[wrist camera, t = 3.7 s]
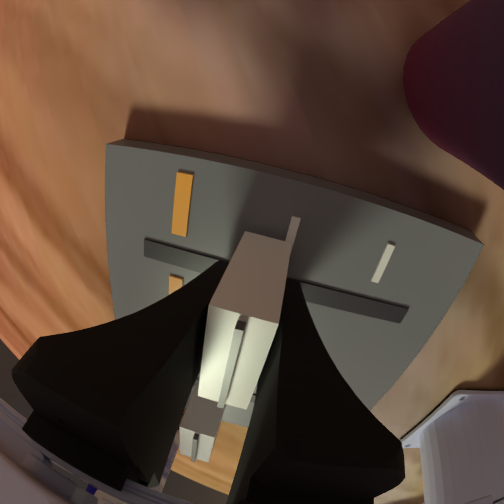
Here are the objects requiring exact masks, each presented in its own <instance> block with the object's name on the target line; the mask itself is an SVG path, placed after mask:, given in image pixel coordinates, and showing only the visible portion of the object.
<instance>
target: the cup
mask: <svg viewBox="0 0 504 504" xmlns="http://www.w3.org/2000/svg"><path fill="white" fill-rule="evenodd" d="M403 81H404V89H405V95H406V98H407V102H408V106H409V108H410V110H411V112H412V115H413V117H414V119H415V121H416V122H417V124H418V125H419V127H420V128H421V130H422V131H423V132H424V133H425V135H426V136H427V137H428V138H429V139H430V140H431V141H432V142H433V143H435V144H436V145H437V146H438V147H440V148H441V149H443V150H445V151H446V152H448V153H450V154H451V155H453V156H455V157H456V158H458V159H460V160H461V161H463V162H464V163H466V164H467V165H469V166H470V167H472V168H474V169H475V170H477V171H478V172H480V173H481V174H482V175H484V176H485V177H487V178H488V179H490V180H491V181H492V182H494V183H495V184H497V185H498V186H499V187H501V188H502V189H503V190H504V0H471V1H469V2H468V3H466V4H465V5H464V6H462V7H461V8H459V9H458V10H457V11H455V12H454V13H452V14H451V15H450V16H448V17H447V18H446V19H444V20H443V21H442V22H440V23H439V24H437V25H436V26H435V27H434V28H432V29H431V30H430V31H428V32H427V33H426V34H424V35H423V36H422V37H420V38H419V39H418V40H417V41H416V43H415V44H414V45H413V46H412V48H411V49H410V51H409V53H408V55H407V58H406V62H405V66H404V78H403Z"/></svg>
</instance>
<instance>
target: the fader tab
mask: <svg viewBox="0 0 504 504" xmlns="http://www.w3.org/2000/svg"><path fill="white" fill-rule="evenodd" d="M291 244H292V243H289V242H286V241H282V240H278V239H274V238H270V237H267V236H263V235H259V234H255V233H251V232H247V231H245V232H244V234H243V236H242V238H241V240H240V242H239V244H238V246H237V248H236V250H235V252H234V254H233V257H232V259H231V261H230V263H229V265H228V267H227V269H226V271H225V273H224V275H223V277H222V279H221V281H220V283H219V285H218V287H217V289H216V291H215V293H214V295H213V297H212V299H211V301H210V303H209V307H208V314H207V322H206V330H205V338H204V346H203V354H202V362H201V371H200V380H199V389H198V396H200V397H203V398H206V399H210V400H213V401H216V402H218V405H217V407H220V408H223V409H224V405H225V404H227V405H231V406H234V407H238V408H242V409H246V410H247V407H248V405H249V402H250V400H251V397H252V395H253V392H254V389H255V387H256V384H257V382H258V379H259V376H260V374H261V371H262V368H263V366H264V363H265V360H266V358H267V355H268V352H269V350H270V347H271V344H272V341H273V339H274V336H275V333H276V330H277V327H278V325H279V319H280V314H281V308H282V302H283V296H284V290H285V283H286V277H287V271H288V264H289V258H290V251H291Z"/></svg>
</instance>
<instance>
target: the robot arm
mask: <svg viewBox="0 0 504 504" xmlns="http://www.w3.org/2000/svg"><path fill="white" fill-rule="evenodd" d="M228 265H229V263H227V262H224V261H220V260H219V261H217V262H215V263H214V264H213V265H211V266H210V267H209V268H208V269H206V270H205V271H204V272H202V273H201V274H200V275H198V276H197V277H196V278H194V279H193V280H191V281H190V282H188V283H187V284H185V285H184V286H182V287H181V288H179V289H178V290H176V291H174V292H173V293H171V294H169V295H168V296H166V297H164V298H163V299H161V300H159V301H157V302H155V303H154V304H152V305H150V306H148V307H146V308H143V309H141V310H139V311H137V312H135V313H132V314H130V315H127V316H124V317H122V318H119V319H116V320H113V321H111V322H108V323H105V324H101V325H98V326H94V327H91V328H87V329H83V330H78V331H74V332H68V333H63V334H56V335H50V336H43V337H39V338H38V339H37V341H36V342H35V343H34V344H33V345H32V346H31V347H30V348H29V350H28V351H27V352H26V353H25V354H24V355H23V357H22V358H21V359H20V360H19V362H18V363H17V364H16V365H15V366H14V368H13V369H12V377H13V380H14V382H15V384H16V386H17V387H18V389H19V390H20V392H21V393H22V394H23V396H24V397H25V399H26V400H27V402H28V403H29V404H30V405H31V407H32V408H33V410H34V411H33V412H32V414H31V415H30V417H29V418H28V420H27V419H26V418H24V417H23V416H22V415H20V414H19V413H18V412H17V411H15V410H14V409H13V408H12V407H10V406H9V405H8V404H7V403H6V402H4V401H3V400H2V399H1V398H0V504H97V503H98V498H97V497H95V496H94V495H92V494H90V493H89V492H87V491H85V490H84V489H82V488H81V487H79V486H78V485H77V484H76V483H75V482H73V481H71V480H70V479H68V478H67V477H65V476H64V475H62V474H61V473H59V472H58V471H56V470H55V469H53V468H52V464H51V461H52V462H53V463H55V464H56V465H58V466H59V467H61V468H62V469H64V470H66V471H67V472H69V473H70V474H72V475H74V476H76V477H77V478H79V479H81V480H82V481H84V482H86V483H88V484H90V485H91V486H93V487H95V488H97V489H99V490H101V491H103V492H105V493H107V494H109V495H111V496H113V497H115V498H117V499H119V500H121V501H124V502H126V503H128V504H195V503H191V502H188V501H184V500H181V499H178V498H175V497H172V496H169V495H167V494H164V493H161V492H158V491H156V490H153V489H150V488H153V487H156V486H158V485H159V484H160V481H161V478H162V475H163V471H164V468H165V465H166V462H167V459H168V456H169V453H170V450H171V447H172V444H173V441H174V438H175V435H176V432H177V429H178V426H179V423H180V420H181V418H182V415H183V412H184V409H185V406H186V404H187V401H188V398H189V396H190V393H191V390H192V388H193V385H194V383H195V381H196V379H197V377H198V375H199V373H200V371H201V362H202V354H203V346H204V338H205V330H206V322H207V314H208V307H209V303H210V301H211V299H212V297H213V295H214V293H215V291H216V289H217V287H218V285H219V283H220V281H221V279H222V277H223V275H224V273H225V271H226V269H227V267H228ZM403 448H420V453H421V463H422V473H423V486H424V504H504V391H474V390H457V391H455V392H453V393H452V394H451V395H450V396H449V397H448V398H447V399H446V400H445V401H444V402H443V403H442V404H441V405H440V406H439V407H438V408H437V409H436V410H435V411H434V412H433V413H432V414H431V415H429V416H428V417H427V418H426V419H425V420H424V421H423V422H422V423H420V424H419V425H418V426H417V427H416V428H415V429H413V430H412V431H411V432H410V433H409V434H407V435H406V436H405V437H404V438H403V439H401V440H399V439H398V438H397V437H395V436H394V435H393V434H392V433H391V432H390V431H389V430H388V429H387V428H386V427H385V426H384V425H383V424H382V423H381V422H380V421H379V420H378V419H377V418H376V417H375V416H374V415H373V414H372V413H371V412H370V411H369V410H368V408H367V407H366V406H365V405H364V404H363V403H362V401H361V400H360V399H359V398H358V397H357V395H356V394H355V393H354V391H353V390H352V389H351V387H350V386H349V385H348V383H347V382H346V381H345V379H344V378H343V376H342V375H341V373H340V372H339V370H338V369H337V367H336V365H335V364H334V362H333V360H332V359H331V357H330V355H329V353H328V352H327V350H326V348H325V346H324V344H323V342H322V340H321V338H320V336H319V333H318V331H317V329H316V327H315V324H314V322H313V319H312V317H311V314H310V312H309V309H308V306H307V303H306V300H305V297H304V294H303V291H302V287H301V284H300V282H299V281H295V280H291V279H287V278H286V283H285V290H284V296H283V302H282V308H281V314H280V319H279V325H278V327H277V330H276V333H275V336H274V339H273V341H272V344H271V347H270V350H269V352H268V355H267V358H266V360H265V363H264V366H263V368H262V371H261V374H260V376H259V379H258V382H257V389H256V396H255V402H254V407H253V411H252V415H251V419H250V423H249V427H248V431H247V434H246V438H245V442H244V445H243V449H242V453H241V456H240V460H239V463H238V467H237V470H236V473H235V477H234V480H233V483H232V486H231V490H230V493H229V496H228V499H227V502H226V504H374V497H377V496H379V495H381V494H383V493H385V492H387V491H389V490H391V489H393V488H395V487H396V486H398V485H399V484H400V483H401V482H402V481H403V480H404V478H405V465H404V453H403Z"/></svg>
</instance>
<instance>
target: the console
mask: <svg viewBox="0 0 504 504" xmlns="http://www.w3.org/2000/svg"><path fill="white" fill-rule="evenodd" d="M105 213H106V236H107V252H108V264H109V274H110V284H111V292H112V300H113V307H114V314H115V320H116V319H119V318H122V317H124V316H127V315H130V314H132V313H135V312H137V311H139V310H141V309H143V308H146V307H148V306H150V305H152V304H154V303H155V302H157V301H159V300H161V299H163V298H164V297H166V296H168V295H169V294H171V293H173V292H174V291H176V290H178V289H179V288H181V287H182V286H184V285H185V284H187V283H188V282H190V281H191V280H193V279H194V278H196V277H197V276H198V275H200V274H201V273H202V272H204V271H205V270H206V269H208V268H209V267H210V266H211V265H213V264H214V263H215V262H217V261H219V260H220V261H224V262H227V263H230V261H231V259H232V257H233V254H234V252H235V250H236V248H237V246H238V244H239V242H240V240H241V238H242V236H243V234H244V232H245V231H247V232H251V233H255V234H259V235H263V236H267V237H270V238H274V239H278V240H282V241H286V242H289V243H292V244H291V251H290V258H289V264H288V271H287V277H286V278H287V279H291V280H295V281H299V282H300V284H301V287H302V291H303V294H304V297H305V300H306V303H307V306H308V309H309V312H310V314H311V317H312V319H313V322H314V324H315V327H316V329H317V331H318V333H319V336H320V338H321V340H322V342H323V344H324V346H325V348H326V350H327V352H328V353H329V355H330V357H331V359H332V360H333V362H334V364H335V365H336V367H337V369H338V370H339V372H340V373H341V375H342V376H343V378H344V379H345V381H346V382H347V383H348V385H349V386H350V387H351V389H352V390H353V391H354V393H355V394H356V395H357V397H358V398H359V399H360V400H361V401H362V403H363V404H364V405H365V406H366V407H367V408H368V410H369V411H370V410H371V409H372V408H373V407H374V406H375V405H376V404H377V403H378V401H379V400H380V399H381V398H382V397H383V396H384V395H385V394H386V392H387V391H388V390H389V389H390V388H391V387H392V386H393V384H394V383H395V382H396V381H397V380H398V378H399V377H400V376H401V375H402V374H403V372H404V371H405V370H406V369H407V367H408V366H409V365H410V363H411V362H412V361H413V360H414V358H415V357H416V356H417V354H418V353H419V352H420V350H421V349H422V348H423V346H424V345H425V344H426V342H427V341H428V339H429V338H430V336H431V335H432V334H433V332H434V331H435V329H436V328H437V326H438V325H439V323H440V322H441V320H442V319H443V317H444V316H445V314H446V313H447V311H448V309H449V308H450V306H451V305H452V303H453V301H454V300H455V298H456V296H457V295H458V293H459V291H460V290H461V288H462V286H463V284H464V283H465V281H466V279H467V277H468V275H469V273H470V272H471V270H472V268H473V266H474V264H475V262H476V260H477V258H478V256H479V254H480V252H481V250H482V248H483V246H484V244H483V243H482V242H481V241H480V240H479V239H478V238H477V237H476V236H475V235H474V234H473V233H472V232H471V231H468V230H466V229H464V228H461V227H459V226H456V225H454V224H452V223H449V222H447V221H444V220H442V219H439V218H437V217H434V216H431V215H429V214H426V213H424V212H421V211H418V210H416V209H413V208H410V207H407V206H405V205H402V204H399V203H396V202H393V201H390V200H387V199H384V198H381V197H378V196H375V195H372V194H369V193H366V192H363V191H360V190H357V189H354V188H350V187H347V186H344V185H340V184H337V183H334V182H330V181H327V180H323V179H320V178H316V177H312V176H309V175H305V174H301V173H298V172H294V171H290V170H286V169H282V168H278V167H274V166H270V165H266V164H261V163H257V162H253V161H248V160H244V159H239V158H234V157H230V156H225V155H220V154H215V153H210V152H204V151H199V150H194V149H188V148H182V147H176V146H170V145H164V144H157V143H150V142H143V141H136V140H128V139H121V140H118V141H114V142H111V143H108V144H106V165H105ZM199 380H200V373H199V375H198V377H197V379H196V381H195V383H194V385H193V388H192V390H191V393H190V396H189V398H188V401H187V404H186V406H185V409H186V412H185V414H184V417H183V419H182V422H181V424H180V427H179V428H180V454H183V455H186V456H189V457H191V461H192V462H195V459H198V460H202V461H205V462H209V459H210V456H211V453H212V449H213V446H214V443H215V440H216V436H217V433H218V430H219V427H220V424H221V421H225V422H229V423H233V424H236V425H240V426H244V427H249V423H250V419H251V415H252V411H253V407H254V402H255V396H256V389H257V384H256V387H255V389H254V392H253V395H252V397H251V400H250V402H249V405H248V407H247V410H246V409H242V408H238V407H234V406H231V405H227V404H225V405H224V409H223V408H220V407H217V405H218V402H216V401H213V400H210V399H206V398H203V397H200V396H198V389H199Z"/></svg>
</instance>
